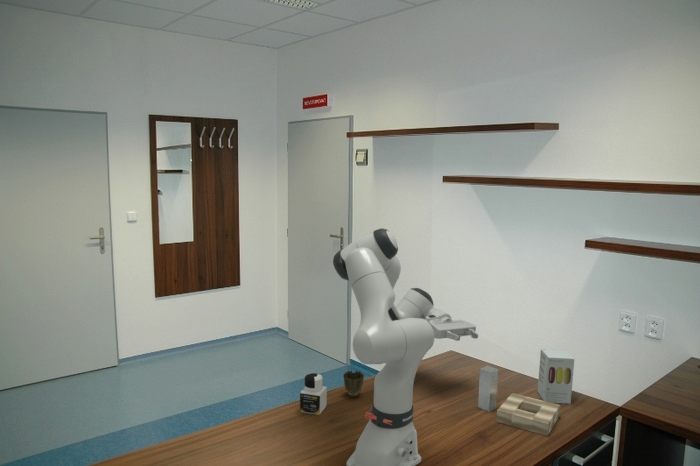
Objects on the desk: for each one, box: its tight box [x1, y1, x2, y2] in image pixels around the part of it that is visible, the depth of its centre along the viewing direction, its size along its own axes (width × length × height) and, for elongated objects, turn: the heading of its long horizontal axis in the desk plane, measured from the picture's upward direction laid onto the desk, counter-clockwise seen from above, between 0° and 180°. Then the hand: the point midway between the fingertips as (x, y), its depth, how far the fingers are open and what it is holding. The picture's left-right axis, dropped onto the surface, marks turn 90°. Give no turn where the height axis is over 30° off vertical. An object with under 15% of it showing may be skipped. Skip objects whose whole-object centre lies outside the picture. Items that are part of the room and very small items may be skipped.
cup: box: [343, 370, 365, 398], centre depth 189 cm, size 8×7×8 cm
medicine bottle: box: [299, 372, 328, 416], centre depth 178 cm, size 7×7×12 cm
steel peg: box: [477, 365, 499, 413], centre depth 181 cm, size 4×4×14 cm
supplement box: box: [537, 348, 575, 405], centre depth 189 cm, size 10×9×17 cm
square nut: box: [496, 392, 561, 437], centre depth 174 cm, size 16×16×4 cm
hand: (467, 337), depth 186 cm, fingers open, 8 cm apart
